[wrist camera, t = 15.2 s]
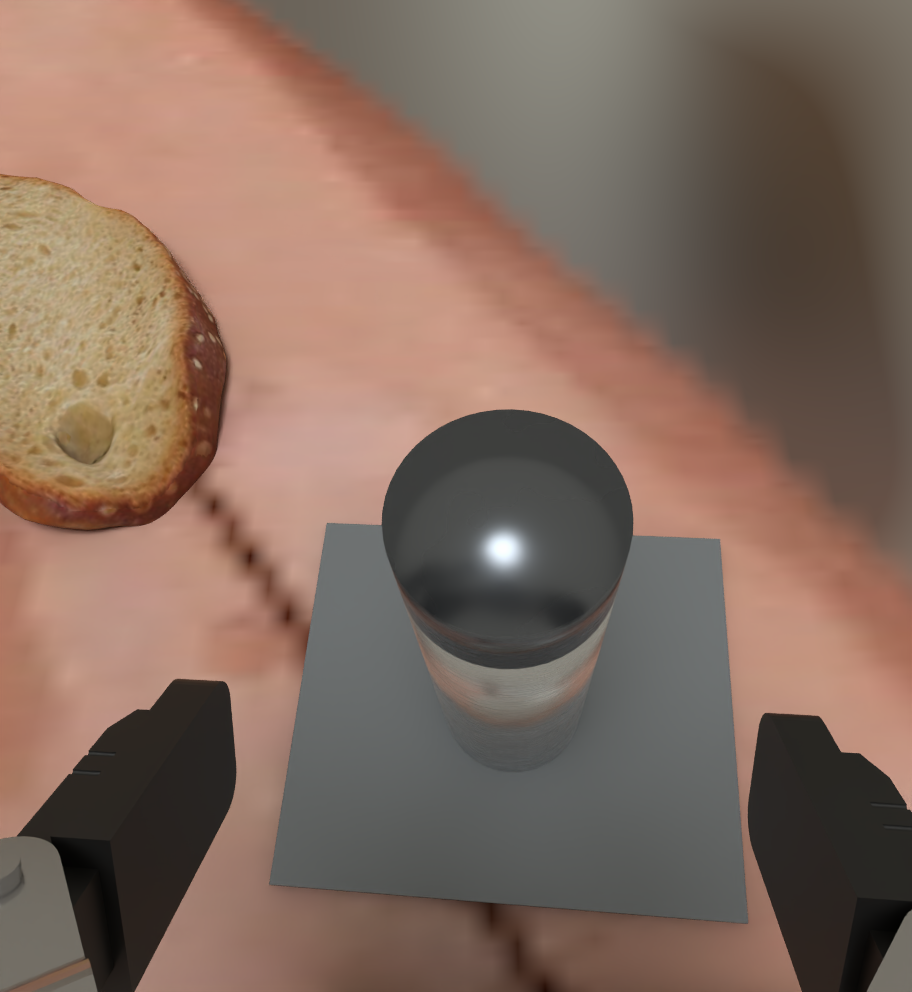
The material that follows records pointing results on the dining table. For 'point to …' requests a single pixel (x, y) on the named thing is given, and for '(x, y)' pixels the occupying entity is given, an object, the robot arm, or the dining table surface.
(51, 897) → the robot arm
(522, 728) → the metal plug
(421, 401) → the dining table surface
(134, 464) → the slice of bread
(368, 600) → the rubber mat
